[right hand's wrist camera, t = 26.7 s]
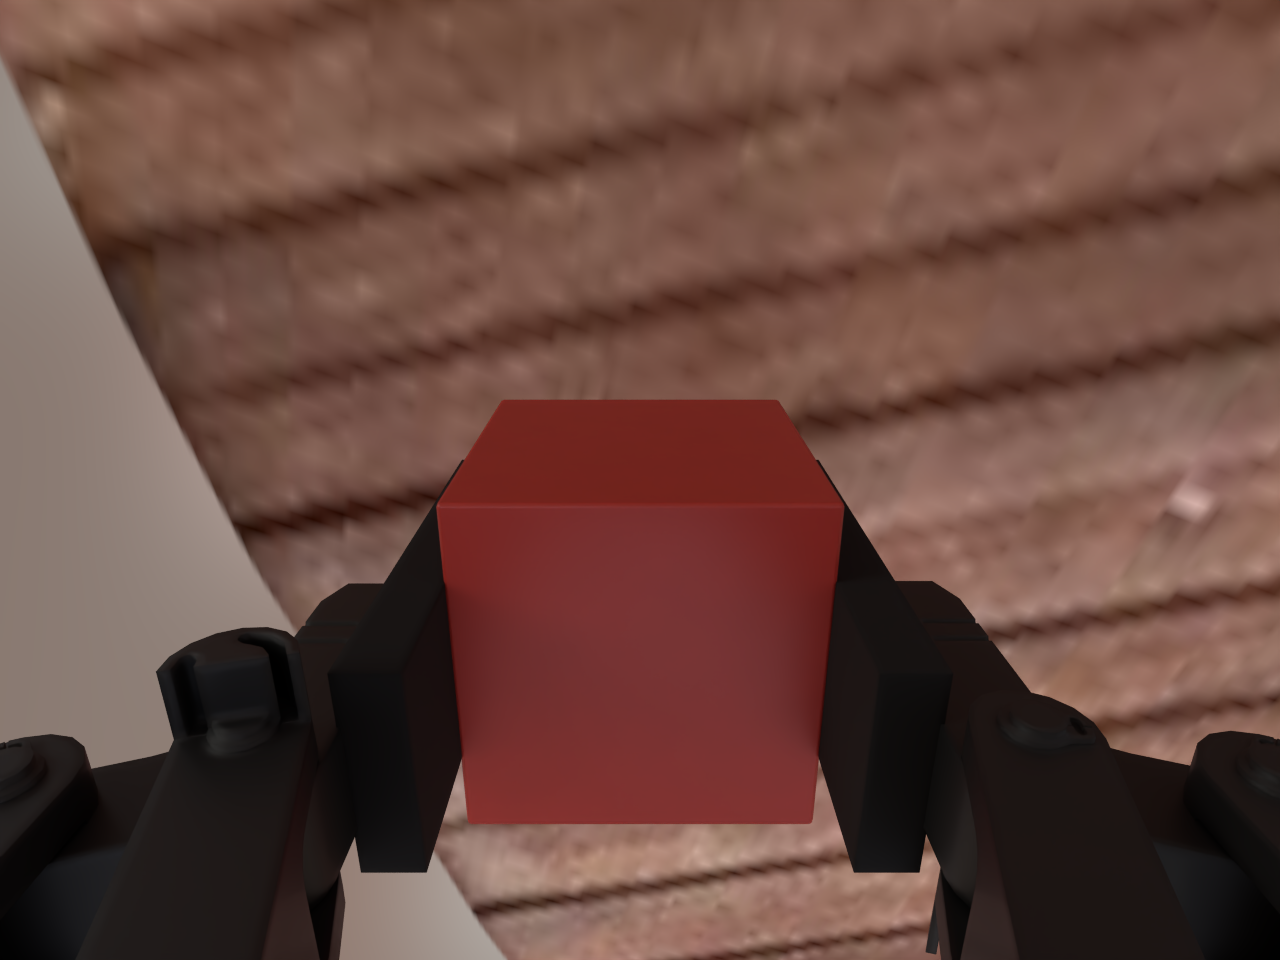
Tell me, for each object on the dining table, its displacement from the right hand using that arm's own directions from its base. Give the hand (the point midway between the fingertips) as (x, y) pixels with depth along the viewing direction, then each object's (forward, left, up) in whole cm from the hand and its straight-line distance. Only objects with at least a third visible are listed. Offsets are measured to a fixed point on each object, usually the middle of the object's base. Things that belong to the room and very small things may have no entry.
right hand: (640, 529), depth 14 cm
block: (0, 0, 0) cm, 0 cm away
